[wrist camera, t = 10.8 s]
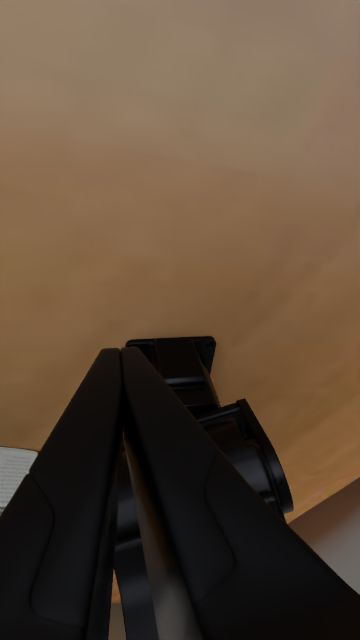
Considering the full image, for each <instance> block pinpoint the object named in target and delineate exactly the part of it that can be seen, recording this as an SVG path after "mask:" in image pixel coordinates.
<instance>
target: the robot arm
mask: <svg viewBox="0 0 360 640" xmlns="http://www.w3.org/2000/svg"><path fill="white" fill-rule="evenodd" d="M209 342H211V343H210V344H207V343H209ZM131 346H135V347H131ZM215 347H216V342H215V339H214V338H213V337H211V336H203V337H181V338H159V339H137V340H129V341H128V342H127V343H126V345H125V348H121V350H120V349H118V348H106V349H102V350H101V351H100V353H99V355H98V356H97V358H96V359H95V361H94V363H93V364H92V366H91V368H90V369H89V371H88V373H87V374H86V376H85V378H84V379H83V381H82V383H81V384H80V386H79V388H78V389H77V391H76V393H75V394H74V396H73V398H72V399H71V401H70V402H69V404H68V406H67V407H66V409H65V411H64V412H63V414H62V416H61V417H60V419H59V421H58V422H57V424H56V426H55V427H54V429H53V431H52V432H51V434H50V436H49V437H48V439H47V440H46V442H45V444H44V445H43V447H42V449H41V450H40V452H39V454H38V455H37V457H36V459H35V460H34V462H33V464H32V465H31V467H30V469H29V474H26V475H25V476H24V478H23V480H22V481H21V483H20V485H19V486H18V488H17V490H16V491H15V493H14V495H13V496H12V498H11V499H10V501H9V502H8V504H7V506H6V507H5V509H4V510H3V512H2V513H1V515H0V640H108V635H109V621H110V608H111V596H112V583H113V570H115V574H116V578H117V583H118V588H119V592H120V597H121V604H122V610H123V617H124V625H125V632H126V640H360V595H359V594H358V593H357V592H356V591H355V590H353V589H352V588H351V587H350V586H349V585H348V584H346V583H345V581H343V580H342V579H341V578H340V577H339V576H338V575H337V574H336V573H335V572H334V571H333V570H332V569H331V568H330V567H329V566H328V565H327V564H326V563H325V562H324V561H323V560H322V559H321V558H320V557H319V556H318V555H317V554H316V553H315V552H314V551H313V550H312V549H311V548H310V547H309V546H308V545H307V543H306V542H304V540H302V539H301V538H300V536H299V535H298V534H296V532H294V530H293V529H292V528H291V527H290V526H289V525H288V524H287V523H286V520H285V517H284V514H285V513H288V512H291V511H293V509H294V507H293V501H292V496H291V493H290V489H289V486H288V483H287V480H286V477H285V474H284V472H283V469H282V466H281V464H280V461H279V459H278V457H277V454H276V452H275V450H274V448H273V446H272V444H271V442H270V440H269V439H268V437H267V435H266V434H265V432H264V430H263V428H262V427H261V425H260V423H259V422H258V420H257V418H256V416H255V415H254V413H253V411H252V410H251V408H250V406H249V404H248V403H247V401H246V399H245V398H244V399H241V400H238V401H236V403H233V404H230V405H227V406H223V407H221V405H220V402H219V400H218V397H217V394H216V391H215V389H214V386H213V383H212V381H211V378H210V372H211V367H212V362H213V357H214V352H215ZM123 434H124V437H123Z"/></svg>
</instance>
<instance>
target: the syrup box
mask: <svg viewBox="0 0 360 640" xmlns="http://www.w3.org/2000/svg"><path fill="white" fill-rule="evenodd" d="M37 455H38V452H36V451H30V450H24V449H16V448H7V447H0V515H1V513H2V512H3V510H4V509H5V507H6V506H7V504H8V502H9V501H10V499H11V498H12V496H13V495H14V493H15V491H16V490H17V488H18V486H19V485H20V483H21V481H22V480H23V478H24V476H25V475H26V474H29V469H30V467H31V465H32V464H33V462H34V460H35V459H36V457H37Z"/></svg>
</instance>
